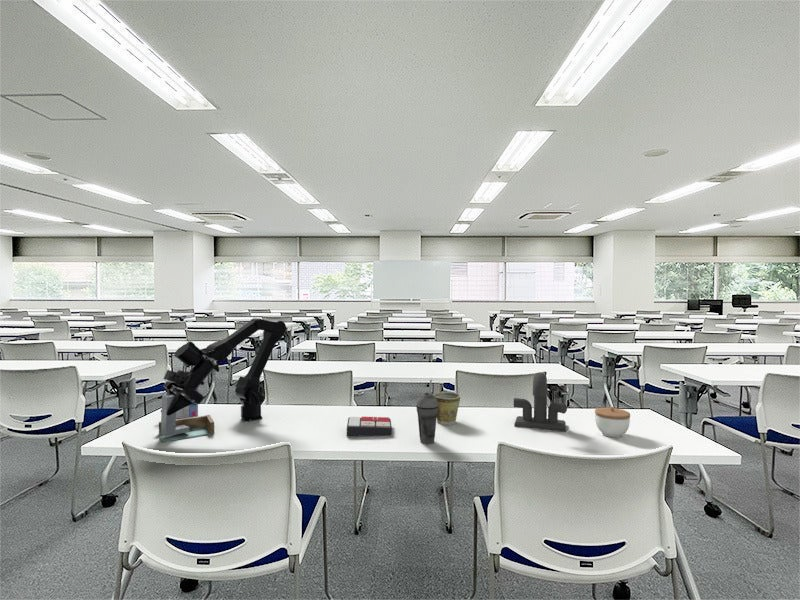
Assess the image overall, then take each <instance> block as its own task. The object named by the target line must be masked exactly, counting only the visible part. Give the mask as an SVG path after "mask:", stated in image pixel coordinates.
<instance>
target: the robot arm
mask: <svg viewBox="0 0 800 600" xmlns="http://www.w3.org/2000/svg"><path fill="white" fill-rule="evenodd" d="M287 328H288V327H287V325H286V323H285V322H284V321H282V320H275V319H270V320H266V319H262V318H260V317H259V318H257V317H254V318H251V319H250V321H248V322H247V323H245V324H244V325H243V326H241V327H240V328H239V329H237V330H236V331H234V332H233V333H231V334H230V335H228V336H227V337H225V338H223V339H219V340H217V341H215V342H213V343H211V344H209V345H207V346H206V348H201V349H200V348H199V347H198V346H197V345H196V344H195V343H194V342H193V341H189V340H188V341H187V342H186V343H185V344H183V345H182V346H180V347H178V348H177V350H175V353H174V357H175V358H176V359H178V360H179V361H180V362H181V363H182V364H184V365H185V366H187V367H192V368H191V369H190V370H189V371H184V370H182V369H181V370H180V369H179V370H177V371H172V370H170V369H167V370H166V372H165V375H164V377H163V380H166V382H164V384H163V385H162V387H163V388H164V389H166V395H171V394H172V395H175V396H176V400H175V401H174V402H173V404H172V405H171V407H170V408H169V410H168V411H167V413H166V415H168V416H170V415H171V414H173V413H175V412H177V411H179V410H181V409H183V408H185V407H187V406H189V405H191V404H193V403H192V401H193V400H194V401H195V403H197V404H198V405H200V404H201V403H202V402H203V401H204V395H203V394H201V393H200V392H199V390H198V391H196V389H197V388H198V389H199V388H200V386H204V385H205V380H206V379H207V378H208V376H209V375H210V374H211V373H212V371H213V372H217V373H219V372H220V365H219V363H215V362H222V361H225V360H226V359H228V357H229V356H230V355H231V354H232V352H233V351H234V349H235V348H236V347H238V345H240V344H242V343H243V342H244V341H245V340H247V339H248V338H249V337H251V336H252V335H253V334H255V333H256V332H258V331H259V330H260V331H263V333H262V334H263V336H262V337H263V338H262V342H261V344H260V347H259V348H258V350H257V352H256V355H255V357H254V359H253V361H252V364H251V366H250V368H249V370H248V372H247V374H246V375H244V376H239V377H238V380H237V383H236V384H235V385H234V387H235V390H234V392H235V395H236V396H237V397H238V399H239V401H240V402H241V406H240V418H241V419H242V420H243V421H244V422H248V421H254V420H261V419H263V416H262V403H264V401H265V396H264V395H263V394H262V393H261V392H259V391H260V387H261V384H260V383H261V381H260V380H261V376H262V374H263V373H264V370H265V367H266V366H267V362H268V361H269V358H270V356H271V354H272V352H273V350H274V347H275V346H276V344H277V343H278V342H279V341H280V340H282V338H283V336H284V335H285V334H286V332H287ZM205 358H207V359H205ZM213 361H215V362H213ZM161 412H162V408H161V410H160V413H161Z"/></svg>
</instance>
